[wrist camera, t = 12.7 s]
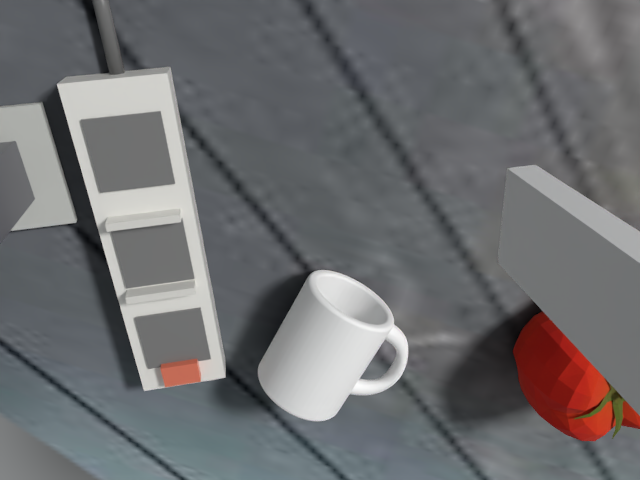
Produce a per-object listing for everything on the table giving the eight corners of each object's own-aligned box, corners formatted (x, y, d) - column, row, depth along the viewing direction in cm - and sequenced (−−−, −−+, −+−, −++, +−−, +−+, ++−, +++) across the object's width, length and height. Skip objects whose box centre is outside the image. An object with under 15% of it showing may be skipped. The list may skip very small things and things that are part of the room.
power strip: (27, -66, 34) (6, -68, 30) (144, -74, 34) (136, -77, 31) (147, 371, 50) (142, 400, 46) (225, 359, 50) (225, 387, 47)
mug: (254, 346, 50) (259, 408, 43) (302, 257, 47) (317, 309, 40) (365, 380, 54) (386, 443, 47) (417, 301, 51) (448, 355, 44)
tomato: (509, 398, 59) (563, 479, 49) (488, 302, 52) (546, 375, 43) (629, 353, 59) (705, 427, 49) (623, 252, 52) (709, 315, 43)
